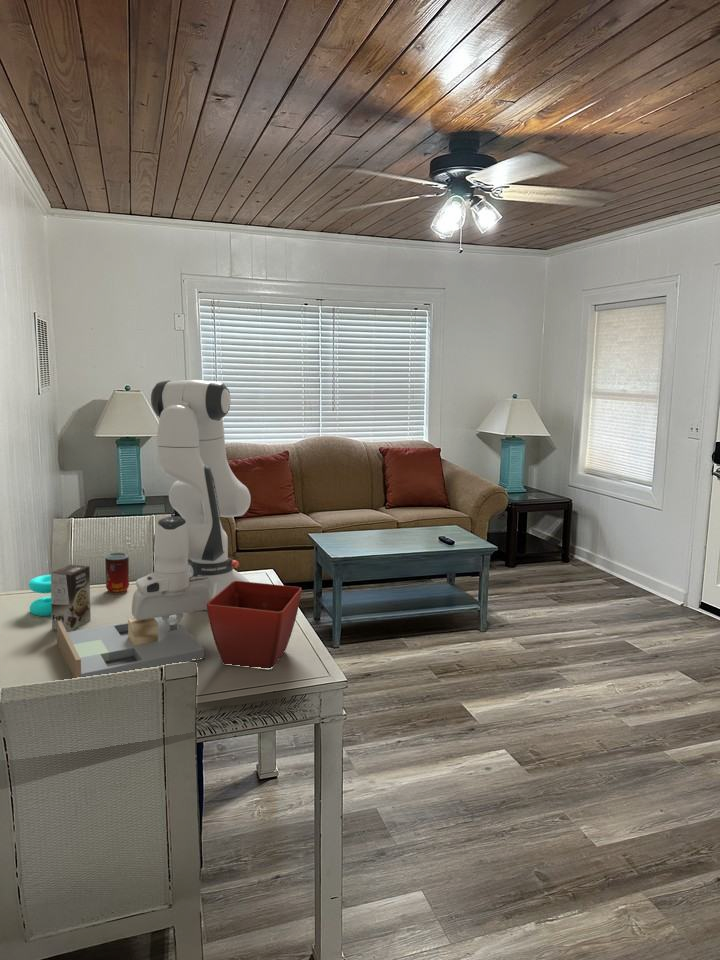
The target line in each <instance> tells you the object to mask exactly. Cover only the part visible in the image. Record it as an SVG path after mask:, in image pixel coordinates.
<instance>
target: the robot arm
mask: <svg viewBox="0 0 720 960" xmlns="http://www.w3.org/2000/svg"><path fill="white" fill-rule="evenodd" d="M150 404H151V407H152V410H153V412H154V413H155V414H156V416H157V417H158V418H159V420H158V426H157V432H156V433H157V434H156V459H157V465H158V467H159V468H160V469H161V471H162V472H163V473H164V474H165V475H166V476H168V477H170V478H171V479H174V480H176V481H174V482H173V483H172V485H171V487H170V489H169V491H168V500H169V503H170V506H171V507H172V509H173V510H175V511H176V512H177V513H178V514H179V515H180V516H167V517H166V516H165V517H164V518H161V519H159V520H158V521H157V523H156V527H155V533H154V535H153V538H152V539H153V542H152V543H153V544H152V545H153V546H152V547H153V548H152V550H153V554H154V556H155V564H154V572H153V571H152V572H151V573H149V574H147V575H145V576H142V577H140V578H137V580H135V586H136V588H137V589H136V590H135V591H134V592H133V596H132V601H131V616H132V618H135V619H136V620H145V619H151V618H157V617H162V619H163V620H164V622H165V623H166V630H167V631H172V630H178V629H179V624H180V623H181V621H182V620H183V618H184V614H187V613H193V612H200V611H207V603H208V602H209V601H210V600H211V599H212V598H214V597H215V596H216V595H217V594H218V593H220V592H221V591H222V590H223V589H224V588H226V587H227V586H228V585H229V584H230V583H231V582H233V581H244V582H250V581H249V579H248V578H247V577H246V576H244V575H242V574H241V573H240V572H239V571H237V570H235V569H234V568H238V567H239V566H240V564H239V561H237V560H236V559H232V558H230V557H229V556H228V553H229V552H228V545H229V543H228V542H229V541H228V539H229V538H228V535H227V532H226V531H225V530H224V528H223V524H222V517H223V518H234V517H242V516H243V515H245V514H246V513H247V511H248V510H249V508H250V505H251V498H252V497H251V493H250V490H249V488H248V487H247V486H246V485H245V484H243V483H242V481H240V480H239V479H238V478H237V477H236V475H235V474H234V472H233V471H232V469H231V467H230V464H229V461H228V457H227V450H226V442H225V428H224V427H225V426H224V421H223V418H225V416H226V415H227V414H228V413H229V411H230V408H231V394H230V389H229V388H228V387H227V386H226V384H224V383H222V382H219V381H214V380H211V381H209V380H202V379H201V380H200V379H183V380H170V379H169V380H163V381H159V382H157V383H156V384H155V386H154V387H153V388H152V390H151V395H150ZM170 615H172V616H176V618H174V619H175V621H174V622H171V623H169V622H168V621H167V619H169V616H170Z"/></svg>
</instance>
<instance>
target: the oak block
mask: <svg viewBox="0 0 720 960" xmlns="http://www.w3.org/2000/svg"><path fill="white" fill-rule="evenodd" d="M127 622H128V637H129V639H130V640H131V642H132V643H133V644H134V645H139V644H145V643H150V642H156V641H158V622H157V621H156V620H155V619H154V618H151V619H145V620H136V619H135V618H134V617H131V618H127Z"/></svg>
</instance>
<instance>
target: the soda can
mask: <svg viewBox="0 0 720 960" xmlns="http://www.w3.org/2000/svg"><path fill="white" fill-rule="evenodd" d="M129 560H130V557H129V555H128V554H127V553H125V552H112V553H109V554H107V555H106V556H105V562H104V563H105V564H104V565H105V588H106V590H107V591H108V593H109V594H110V593H111V595H121V594H125V593H126V591H128V589H129V587H130V567H129V566H130V561H129ZM124 592H125V593H124ZM120 593H121V594H120Z"/></svg>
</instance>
